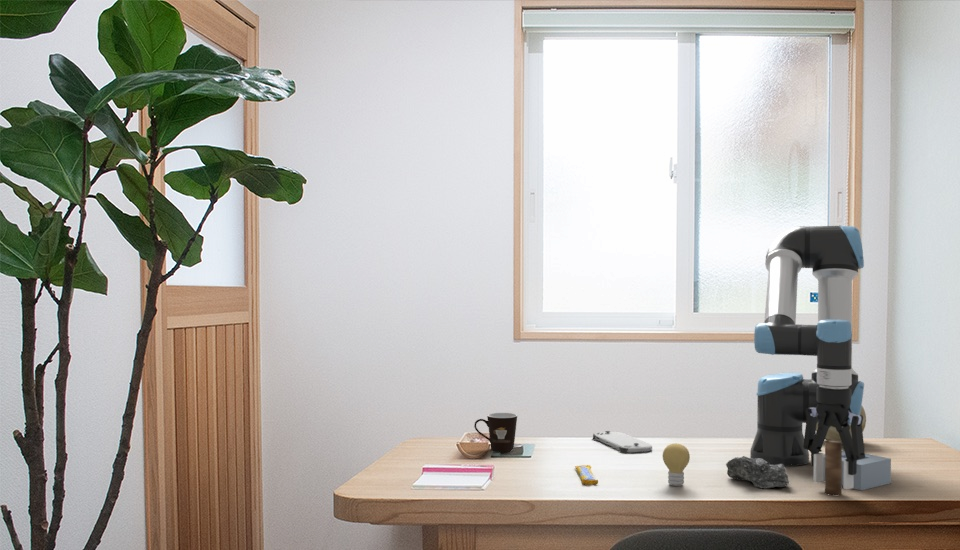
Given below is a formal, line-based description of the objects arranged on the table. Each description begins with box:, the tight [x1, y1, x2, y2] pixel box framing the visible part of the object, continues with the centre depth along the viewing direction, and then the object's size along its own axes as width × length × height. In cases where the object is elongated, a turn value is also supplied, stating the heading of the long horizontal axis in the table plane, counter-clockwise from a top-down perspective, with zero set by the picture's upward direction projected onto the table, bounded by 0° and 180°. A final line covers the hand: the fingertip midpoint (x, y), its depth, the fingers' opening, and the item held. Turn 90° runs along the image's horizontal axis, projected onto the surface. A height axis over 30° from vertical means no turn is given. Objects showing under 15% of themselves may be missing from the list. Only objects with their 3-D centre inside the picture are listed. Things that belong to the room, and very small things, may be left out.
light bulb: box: [662, 442, 691, 487], centre depth 214 cm, size 6×6×10 cm
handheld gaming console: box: [592, 430, 653, 454], centre depth 261 cm, size 23×3×10 cm
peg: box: [824, 440, 843, 496], centre depth 206 cm, size 4×4×12 cm
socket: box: [822, 449, 892, 491], centre depth 218 cm, size 12×12×6 cm
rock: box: [725, 455, 790, 489], centre depth 215 cm, size 13×13×10 cm
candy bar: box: [574, 464, 599, 486], centre depth 223 cm, size 17×4×2 cm, turn 0°
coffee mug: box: [473, 412, 518, 454], centre depth 254 cm, size 12×9×10 cm
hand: (833, 484), depth 206 cm, fingers open, 7 cm apart
